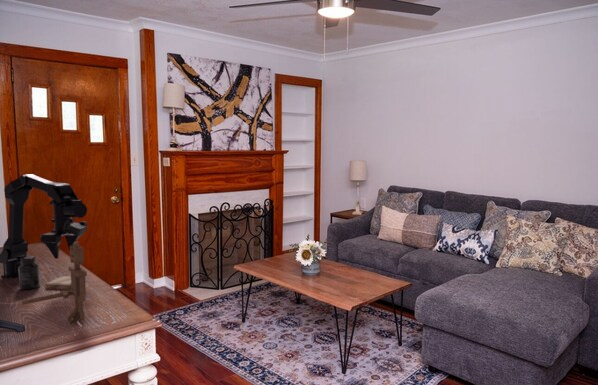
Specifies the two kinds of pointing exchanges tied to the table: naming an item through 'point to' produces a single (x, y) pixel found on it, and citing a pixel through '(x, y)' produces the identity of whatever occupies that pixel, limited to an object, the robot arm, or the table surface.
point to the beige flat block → (60, 283)
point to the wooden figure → (76, 283)
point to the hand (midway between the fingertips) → (64, 255)
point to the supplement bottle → (28, 273)
